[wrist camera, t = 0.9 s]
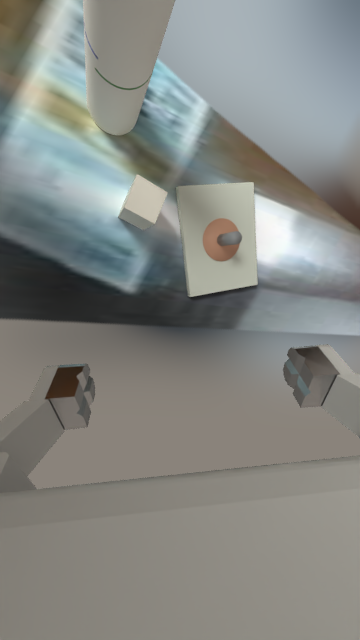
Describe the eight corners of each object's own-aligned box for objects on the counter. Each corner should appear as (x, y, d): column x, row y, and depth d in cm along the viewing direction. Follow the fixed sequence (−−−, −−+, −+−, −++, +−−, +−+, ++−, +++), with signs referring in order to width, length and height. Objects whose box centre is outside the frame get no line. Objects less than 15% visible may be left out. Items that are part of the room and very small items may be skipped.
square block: (143, 230, 41) (154, 224, 34) (118, 217, 40) (123, 207, 32) (154, 204, 41) (167, 192, 34) (128, 190, 39) (137, 174, 32)
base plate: (175, 188, 41) (189, 176, 36) (249, 184, 45) (272, 173, 40) (187, 296, 46) (201, 301, 40) (253, 284, 50) (274, 287, 44)
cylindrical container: (120, 67, 35) (171, -291, 12) (147, 122, 38) (231, -91, 15) (75, 89, 34) (41, -259, 11) (106, 144, 37) (130, -49, 14)
